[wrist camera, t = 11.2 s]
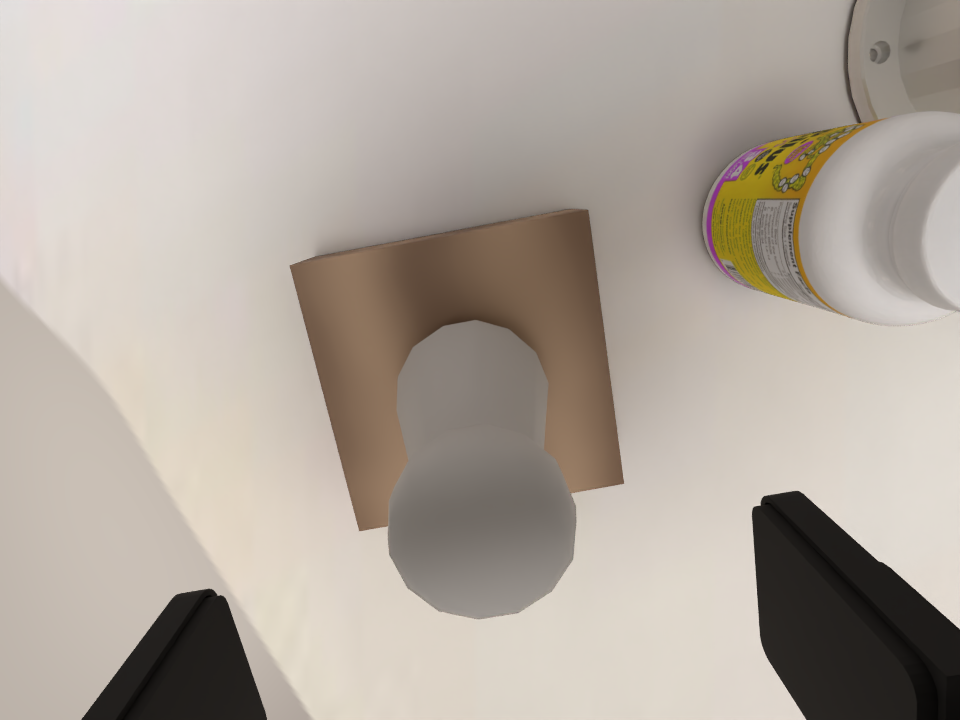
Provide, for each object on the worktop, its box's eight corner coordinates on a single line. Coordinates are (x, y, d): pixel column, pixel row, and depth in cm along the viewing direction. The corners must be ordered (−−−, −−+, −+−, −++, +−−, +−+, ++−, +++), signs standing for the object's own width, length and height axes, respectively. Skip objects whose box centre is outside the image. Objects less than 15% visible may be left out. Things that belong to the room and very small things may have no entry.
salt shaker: (455, 467, 26) (451, 713, 13) (374, 364, 25) (283, 530, 12) (567, 391, 25) (671, 576, 13) (488, 282, 24) (518, 366, 11)
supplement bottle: (835, 128, 27) (1161, 61, 14) (840, 273, 28) (1137, 326, 16) (688, 157, 27) (885, 116, 14) (702, 300, 29) (889, 374, 16)
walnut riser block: (570, 209, 27) (588, 209, 23) (602, 448, 30) (623, 483, 26) (313, 257, 27) (289, 265, 24) (372, 489, 30) (359, 531, 27)
